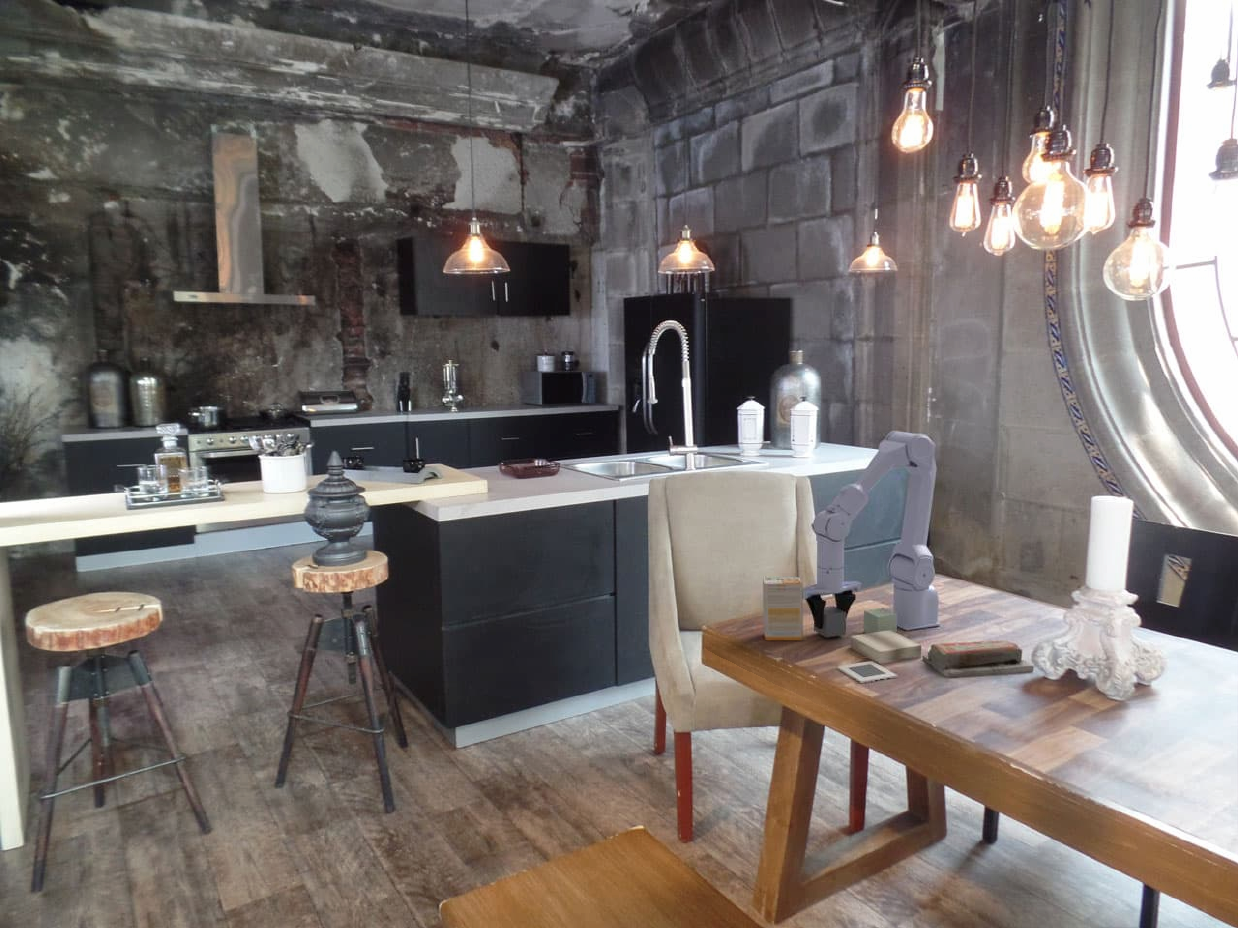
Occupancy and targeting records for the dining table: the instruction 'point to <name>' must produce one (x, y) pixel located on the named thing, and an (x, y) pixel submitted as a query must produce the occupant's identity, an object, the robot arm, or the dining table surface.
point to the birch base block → (885, 646)
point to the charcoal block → (833, 622)
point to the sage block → (879, 620)
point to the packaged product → (977, 658)
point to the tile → (866, 671)
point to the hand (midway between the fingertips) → (829, 625)
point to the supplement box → (783, 608)
